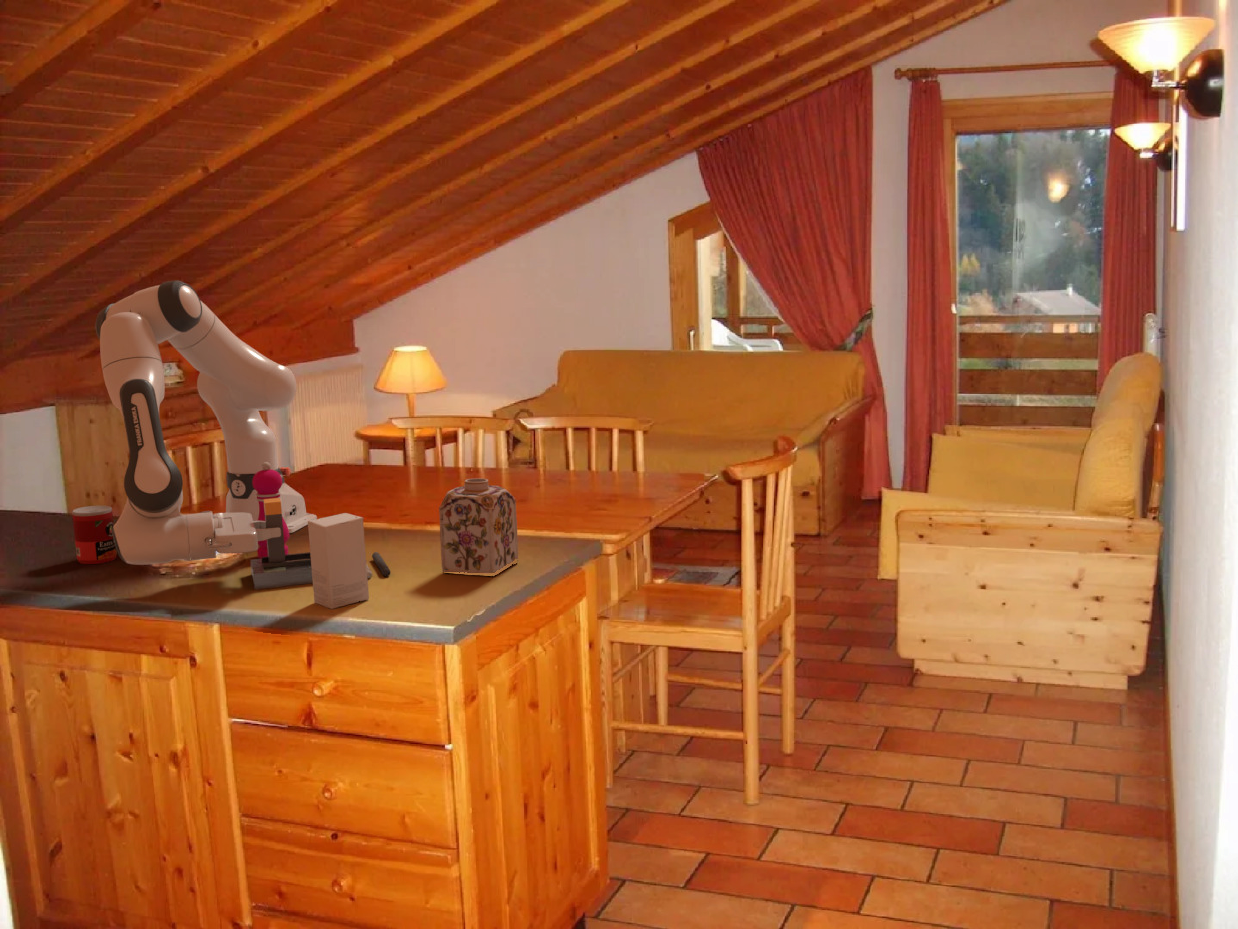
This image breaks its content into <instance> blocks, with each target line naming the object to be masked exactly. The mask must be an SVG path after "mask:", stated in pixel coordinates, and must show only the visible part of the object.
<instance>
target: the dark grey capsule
mask: <svg viewBox="0 0 1238 929" xmlns="http://www.w3.org/2000/svg"><path fill="white" fill-rule="evenodd" d="M371 558H372V559H373V561H374V563H375V565H376V566H377V567H378V570H380V572H381V574H382V576H384V577H389V576H390V575H391V572H392V571H391V570H390V568H389V566H388V564H387V563H386V562H385V560H384V559H383V557H382V556H381V554H380V552H377V551H375V552H373V553H372V555H371ZM366 567H367V579H371V577H372V576H373V572H372V571H371V569H370V567H369V566H368V563H366Z"/></svg>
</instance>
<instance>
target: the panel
mask: <svg viewBox="0 0 1238 929" xmlns="http://www.w3.org/2000/svg"><path fill="white" fill-rule="evenodd" d="M250 571H251V579H252V583H253V587H254V590H261V589H263V590H265V589H272V588H280V587H281V588H282V587H290V586H297V585H298V586H300V585H307V584H313V579H312V567H311V554H310V551H307V552H306V551H305V552H297V553H288V554H286V555H285V561H283V562H273V563H269V561H268V556H266V557H261V558H256V559H254V558H253V559H250Z"/></svg>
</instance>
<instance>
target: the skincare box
mask: <svg viewBox="0 0 1238 929" xmlns="http://www.w3.org/2000/svg"><path fill="white" fill-rule="evenodd" d="M307 528H308V529H307V530H308V540H309V552H310V554H311V567H312V579H313V583H312V589H313V599H314V600H313V602H314V603H315V604H317V605H320V606H323V607H324V608H328V609H330V610H334V609H337V608H340V607H345V606H347V605H351V604H355V603H359V601H360V602H364V601H367V600H369V599H370V595H369V594H370V593H369V582H368V578H367V567H366V564H367V556H366V544H365V543H366V542H365V541H366V540H365V529H364V528H365V527H364V517H362V516H358V515H354V514H352V513H348V512H343V513H339V514H334V515H330V516H326V517H325V516H324V517H321V518H317V519H315V520H310V521H308V524H307Z"/></svg>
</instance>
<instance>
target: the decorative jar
mask: <svg viewBox="0 0 1238 929" xmlns="http://www.w3.org/2000/svg"><path fill="white" fill-rule="evenodd" d="M516 502H517V500H516V499H515V497H514V495H513V494H511V492H510V491H509V490H507V489H506V488H505V487H502V486H499V485H489V479H487V478H482V477H481V478H480V477H479V478H467V479H465V480H464V485H463V486H458V487H454V488H453V489H451V490H448V491H447V492H446V493H445V496H444V498H443V499H442V502H441V504H440V505H439V507H438V513H439V516H438V517H439V537H440V541H439V542H440V555H441V556H440V557H441V560H440V561H441V569H442V570H441V572H442V573H443V572H459V573H460V572H464V573H465V572H467V573H495V572H496V571H497V570H500V569H501V568H503V567H504V566H506V565H507V564H510V563H511V562H513V561H514V560H515V559H518V560H519V546H518V545H519V540H518V520H517V518H518V517H517V503H516Z"/></svg>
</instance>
